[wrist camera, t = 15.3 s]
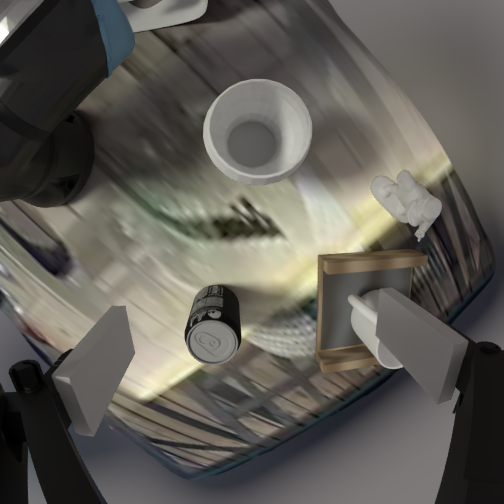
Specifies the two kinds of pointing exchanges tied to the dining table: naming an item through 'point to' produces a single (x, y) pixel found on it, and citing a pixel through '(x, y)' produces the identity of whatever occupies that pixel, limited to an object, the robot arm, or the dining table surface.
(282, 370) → the dining table surface
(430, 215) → the figurine
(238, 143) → the cup
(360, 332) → the mug
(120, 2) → the bowl
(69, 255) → the dining table surface
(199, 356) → the beverage can
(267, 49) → the dining table surface
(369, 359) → the wooden tray
